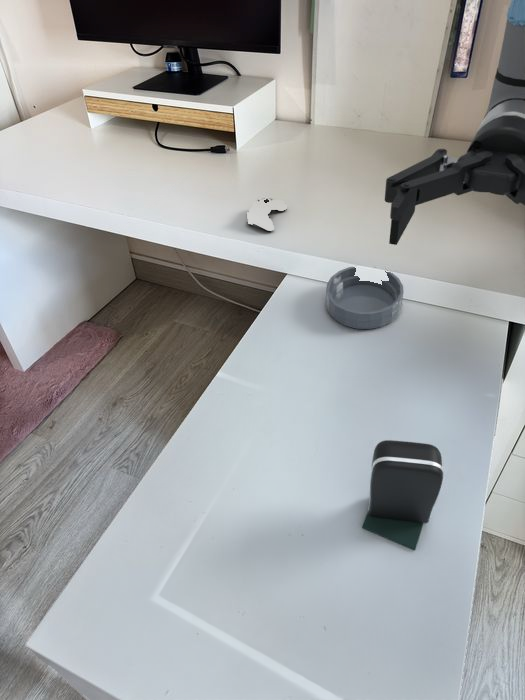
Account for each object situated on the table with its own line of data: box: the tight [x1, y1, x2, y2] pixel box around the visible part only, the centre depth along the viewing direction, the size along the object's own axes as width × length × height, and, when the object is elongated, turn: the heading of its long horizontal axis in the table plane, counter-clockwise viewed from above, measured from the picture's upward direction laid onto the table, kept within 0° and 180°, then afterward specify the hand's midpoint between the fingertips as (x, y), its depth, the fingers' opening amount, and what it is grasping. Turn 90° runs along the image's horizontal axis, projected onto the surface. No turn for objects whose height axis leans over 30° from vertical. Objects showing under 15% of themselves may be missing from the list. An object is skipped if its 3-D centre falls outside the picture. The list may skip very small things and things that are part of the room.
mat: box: [361, 510, 424, 551], centre depth 58 cm, size 6×8×1 cm
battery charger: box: [367, 439, 445, 524], centre depth 54 cm, size 7×4×11 cm, turn 79°
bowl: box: [325, 266, 404, 330], centre depth 81 cm, size 12×12×4 cm
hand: (466, 246), depth 47 cm, fingers open, 13 cm apart
